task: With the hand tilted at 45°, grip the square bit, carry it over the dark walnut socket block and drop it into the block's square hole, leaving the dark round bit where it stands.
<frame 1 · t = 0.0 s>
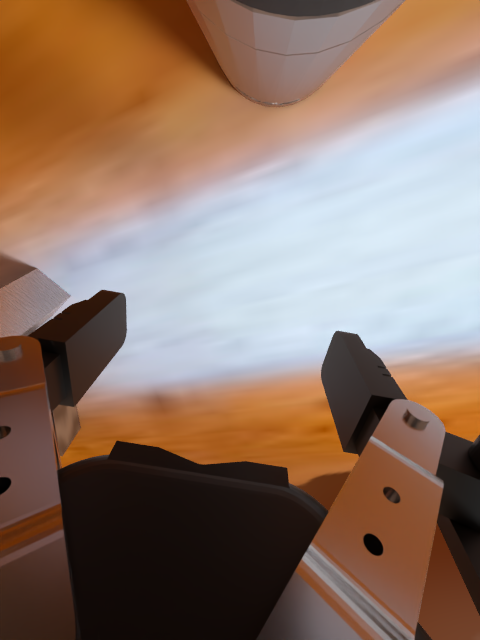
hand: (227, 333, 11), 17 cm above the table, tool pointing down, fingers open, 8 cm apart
square bit: (44, 293, 31), on the table
socket block: (12, 378, 38), on the table
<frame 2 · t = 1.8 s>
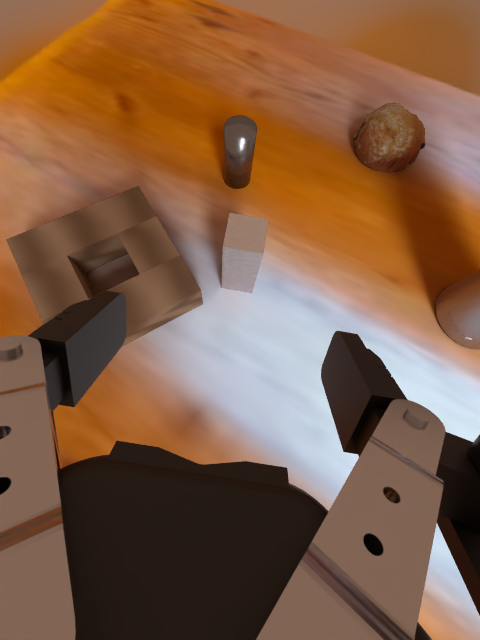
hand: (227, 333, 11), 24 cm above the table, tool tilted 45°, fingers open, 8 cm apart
round bit: (236, 177, 43), on the table
square bit: (239, 276, 38), on the table
socket block: (116, 281, 37), on the table
bread roll: (382, 151, 47), on the table
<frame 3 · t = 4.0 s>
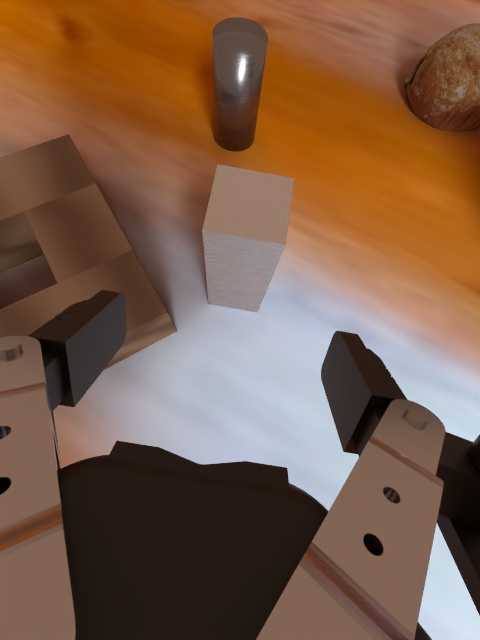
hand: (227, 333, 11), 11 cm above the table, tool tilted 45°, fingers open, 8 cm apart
round bit: (234, 135, 28), on the table
square bit: (237, 285, 24), on the table
socket block: (35, 293, 22), on the table
bread roll: (445, 103, 33), on the table
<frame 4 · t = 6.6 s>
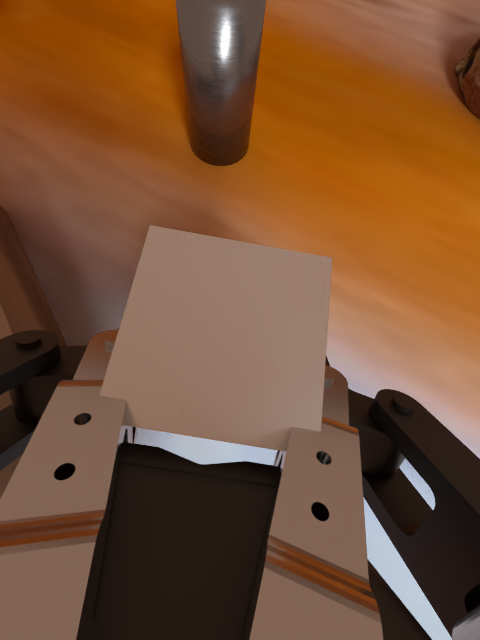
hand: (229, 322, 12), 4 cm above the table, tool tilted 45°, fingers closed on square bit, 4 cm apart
round bit: (219, 142, 20), on the table
square bit: (220, 379, 15), on the table, touching gripper
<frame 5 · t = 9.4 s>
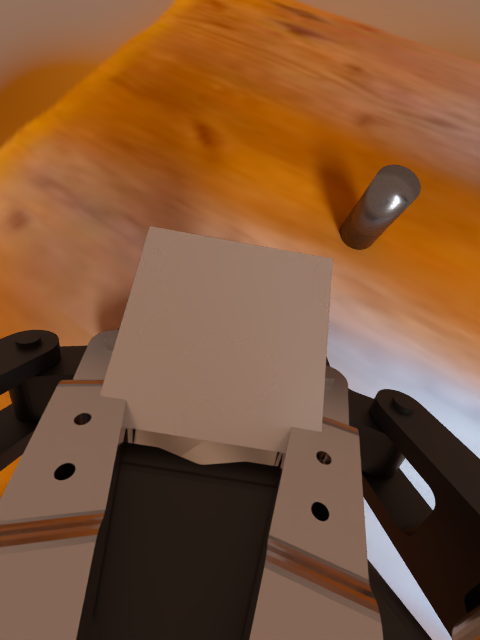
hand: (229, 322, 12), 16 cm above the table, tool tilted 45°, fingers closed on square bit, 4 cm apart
round bit: (357, 233, 33), on the table
square bit: (220, 380, 15), point 12 cm above the table, touching gripper
socket block: (220, 388, 27), on the table
when the fingers open (6 cm above the table, at t = 12.2 s): square bit drops 2 cm, resting in socket block.
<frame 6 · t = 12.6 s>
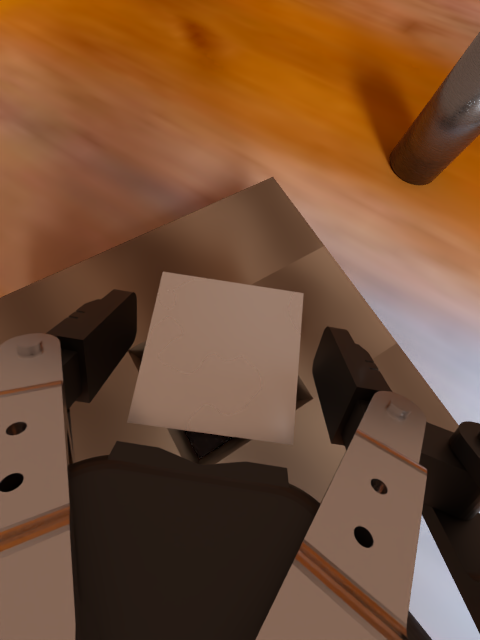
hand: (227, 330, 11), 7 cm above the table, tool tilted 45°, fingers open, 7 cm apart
round bit: (413, 164, 23), on the table
square bit: (219, 384, 17), resting in socket block
socket block: (219, 383, 17), on the table
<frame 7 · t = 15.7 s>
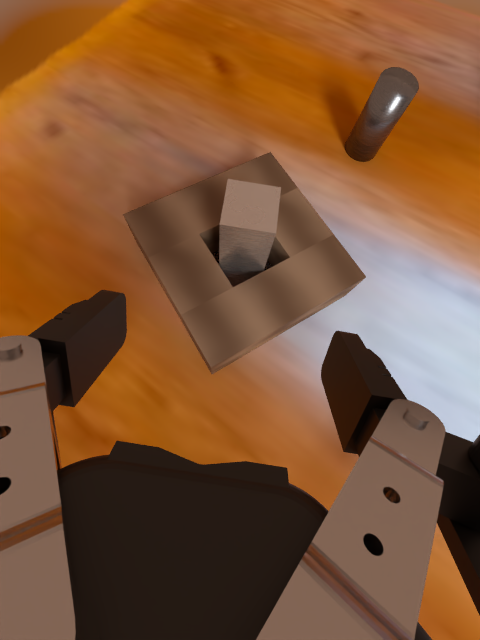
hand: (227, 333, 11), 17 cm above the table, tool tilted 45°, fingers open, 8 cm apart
round bit: (360, 148, 36), on the table
square bit: (240, 269, 30), resting in socket block
socket block: (240, 268, 30), on the table
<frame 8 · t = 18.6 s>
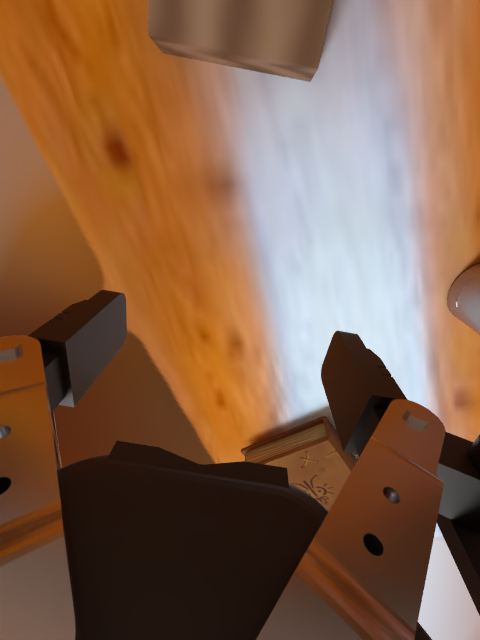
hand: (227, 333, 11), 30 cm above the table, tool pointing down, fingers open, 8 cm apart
diary: (308, 464, 60), on the table
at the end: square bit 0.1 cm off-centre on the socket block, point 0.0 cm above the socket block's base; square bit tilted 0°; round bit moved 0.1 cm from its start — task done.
